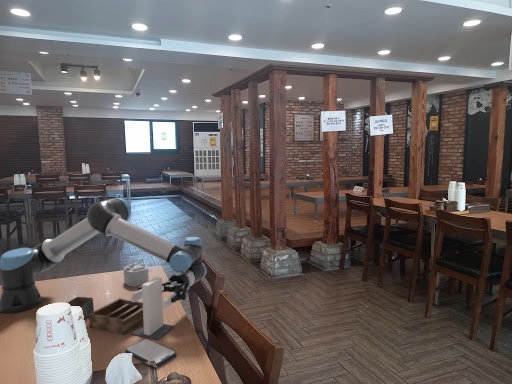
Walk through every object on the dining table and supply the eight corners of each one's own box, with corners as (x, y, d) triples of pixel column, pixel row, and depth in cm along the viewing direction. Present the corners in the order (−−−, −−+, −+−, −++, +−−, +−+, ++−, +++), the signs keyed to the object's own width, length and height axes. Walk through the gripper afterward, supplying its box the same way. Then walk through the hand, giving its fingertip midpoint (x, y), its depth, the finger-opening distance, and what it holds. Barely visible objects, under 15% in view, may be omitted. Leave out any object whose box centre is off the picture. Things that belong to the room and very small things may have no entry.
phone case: (123, 353, 114) (155, 370, 104) (123, 349, 114) (155, 365, 104) (146, 342, 121) (178, 356, 112) (146, 337, 121) (177, 351, 111)
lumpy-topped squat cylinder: (131, 287, 169) (130, 270, 169) (119, 280, 179) (119, 264, 178) (151, 282, 177) (150, 265, 176) (139, 276, 186) (138, 259, 185)
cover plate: (144, 334, 124) (142, 284, 122) (157, 324, 132) (156, 277, 130) (149, 335, 123) (147, 285, 121) (163, 325, 131) (161, 277, 129)
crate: (89, 327, 130) (88, 314, 130) (120, 309, 145) (119, 297, 145) (124, 334, 125) (123, 321, 124) (152, 315, 140) (152, 303, 139)
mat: (132, 334, 125) (132, 333, 125) (150, 322, 134) (149, 321, 134) (158, 340, 121) (158, 338, 121) (174, 326, 130) (174, 325, 130)
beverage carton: (41, 333, 127) (39, 315, 126) (77, 310, 145) (77, 295, 145) (60, 335, 125) (59, 317, 124) (95, 312, 144) (94, 296, 143)
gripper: (208, 293, 139) (179, 317, 120) (156, 286, 148) (120, 306, 128) (208, 275, 139) (178, 295, 119) (155, 268, 147) (119, 286, 128)
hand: (148, 301), depth 124 cm, fingers open, 13 cm apart
